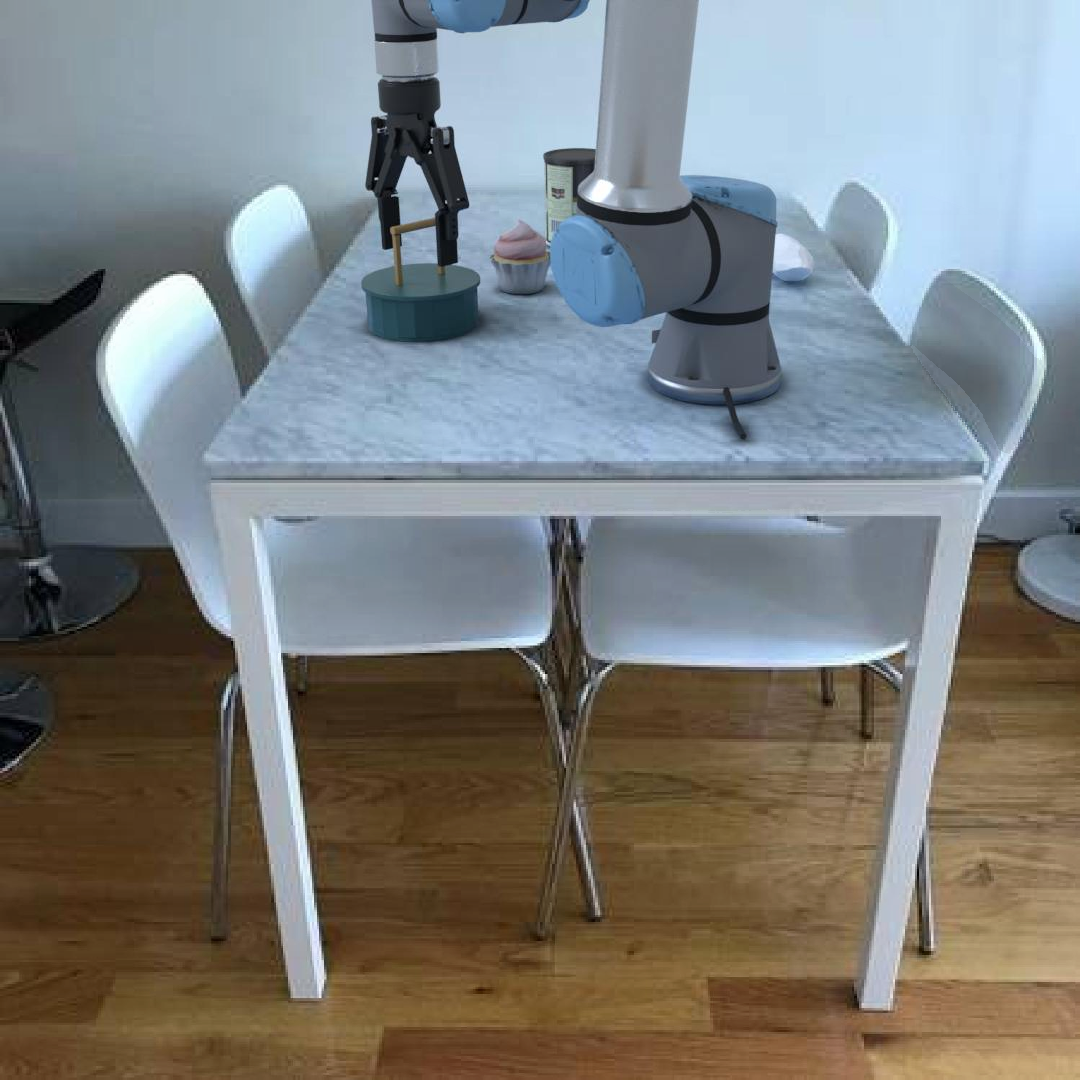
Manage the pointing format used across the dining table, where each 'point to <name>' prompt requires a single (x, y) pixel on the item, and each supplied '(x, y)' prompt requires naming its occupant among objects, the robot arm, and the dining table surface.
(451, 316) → the tin
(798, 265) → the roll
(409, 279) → the tin lid
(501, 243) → the cupcake
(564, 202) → the coffee can
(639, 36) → the robot arm
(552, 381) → the dining table surface
